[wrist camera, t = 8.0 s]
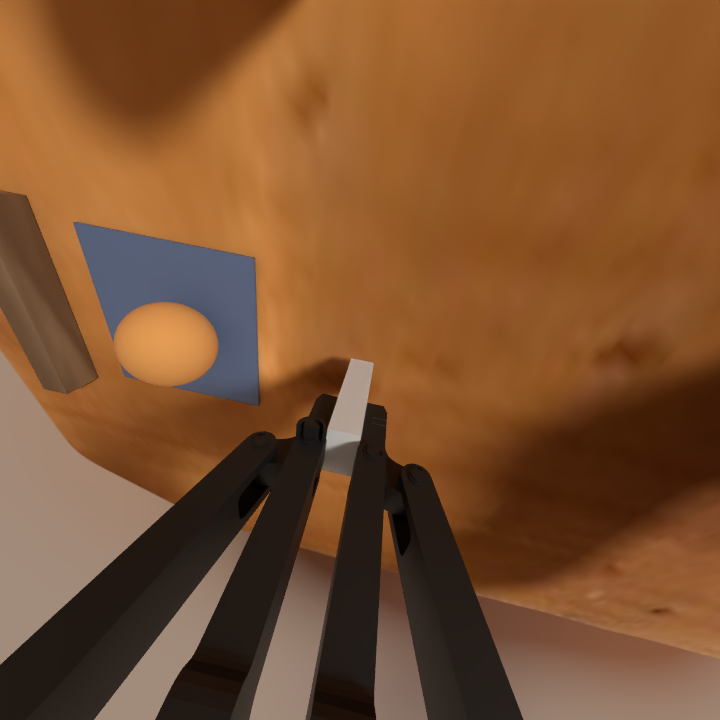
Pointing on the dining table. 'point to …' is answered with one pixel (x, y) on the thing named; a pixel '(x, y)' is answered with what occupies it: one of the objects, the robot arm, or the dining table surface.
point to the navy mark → (182, 297)
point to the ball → (166, 344)
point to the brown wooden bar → (38, 301)
